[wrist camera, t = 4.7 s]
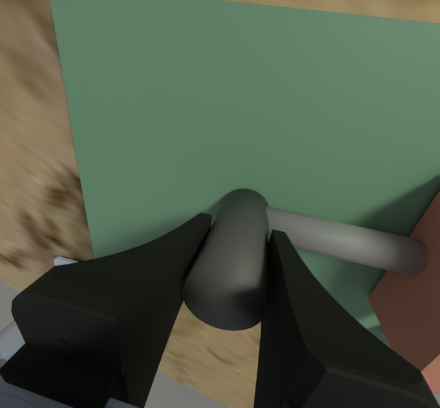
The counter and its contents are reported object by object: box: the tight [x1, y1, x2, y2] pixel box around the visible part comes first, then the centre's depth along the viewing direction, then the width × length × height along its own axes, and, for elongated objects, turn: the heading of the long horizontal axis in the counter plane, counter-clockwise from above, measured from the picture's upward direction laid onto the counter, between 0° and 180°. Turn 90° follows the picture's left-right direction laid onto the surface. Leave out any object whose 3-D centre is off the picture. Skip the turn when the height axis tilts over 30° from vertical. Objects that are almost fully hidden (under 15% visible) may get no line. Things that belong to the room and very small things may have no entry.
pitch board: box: [50, 0, 440, 344], centre depth 14 cm, size 20×35×1 cm, turn 82°
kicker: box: [183, 188, 440, 393], centre depth 10 cm, size 9×13×7 cm
